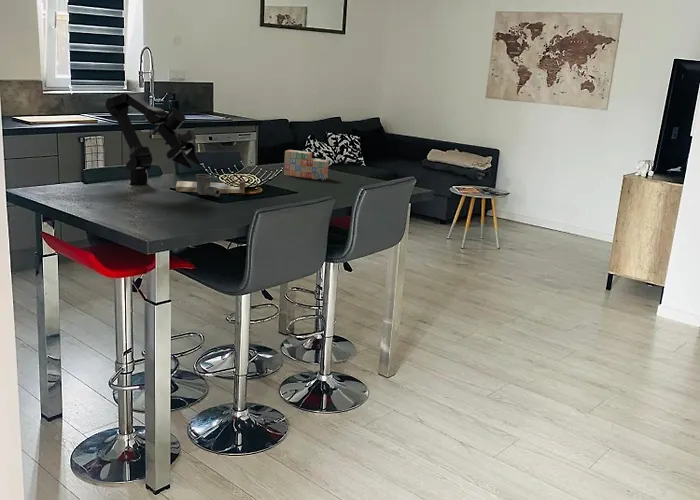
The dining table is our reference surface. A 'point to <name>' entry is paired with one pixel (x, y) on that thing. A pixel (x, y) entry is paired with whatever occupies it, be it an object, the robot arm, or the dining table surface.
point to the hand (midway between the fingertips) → (195, 166)
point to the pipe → (206, 186)
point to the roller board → (222, 187)
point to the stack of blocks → (304, 165)
